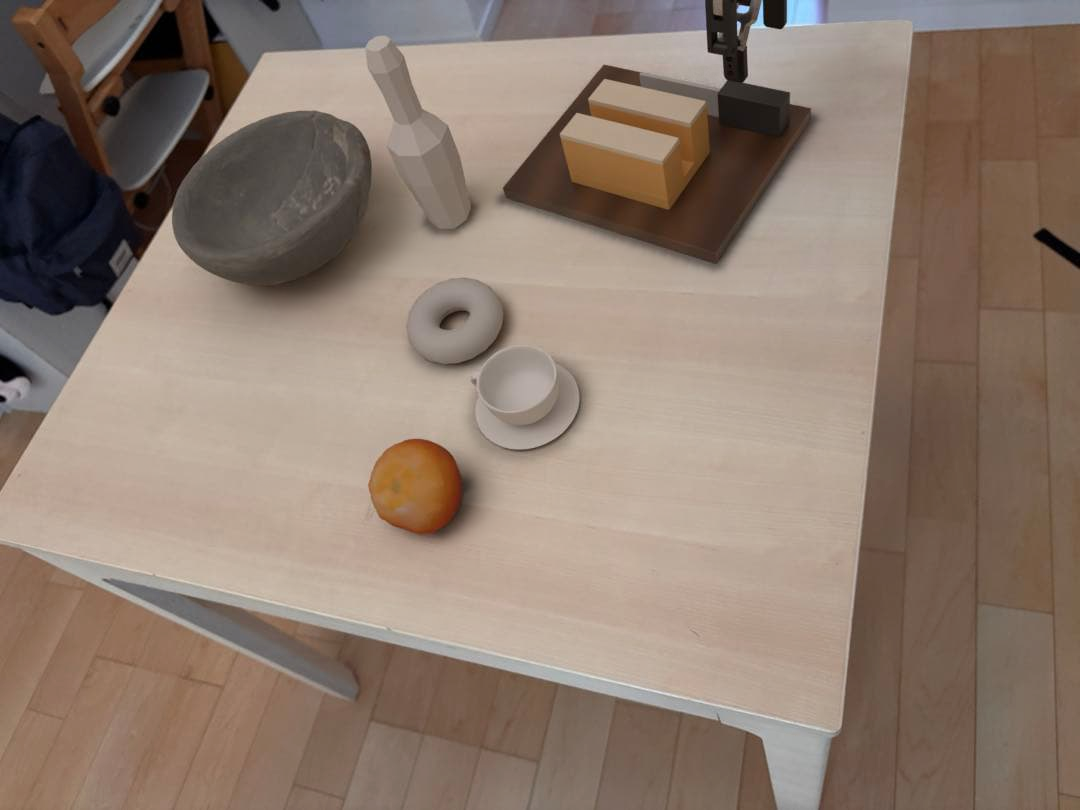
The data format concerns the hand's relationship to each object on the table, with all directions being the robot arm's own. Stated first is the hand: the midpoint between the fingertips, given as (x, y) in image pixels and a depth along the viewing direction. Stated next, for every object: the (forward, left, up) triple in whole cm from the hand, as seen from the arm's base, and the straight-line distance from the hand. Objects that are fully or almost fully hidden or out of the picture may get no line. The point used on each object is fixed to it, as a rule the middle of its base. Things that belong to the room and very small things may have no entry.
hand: (756, 52), depth 85 cm
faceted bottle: (+35, 0, -10) cm, 36 cm away
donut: (+35, +17, -10) cm, 40 cm away
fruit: (+39, +36, -10) cm, 54 cm away
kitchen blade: (+4, -3, -9) cm, 10 cm away
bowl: (+53, -2, -10) cm, 54 cm away
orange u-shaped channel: (+13, +2, -9) cm, 16 cm away
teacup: (+29, +28, -10) cm, 42 cm away
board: (+11, 0, -10) cm, 15 cm away
